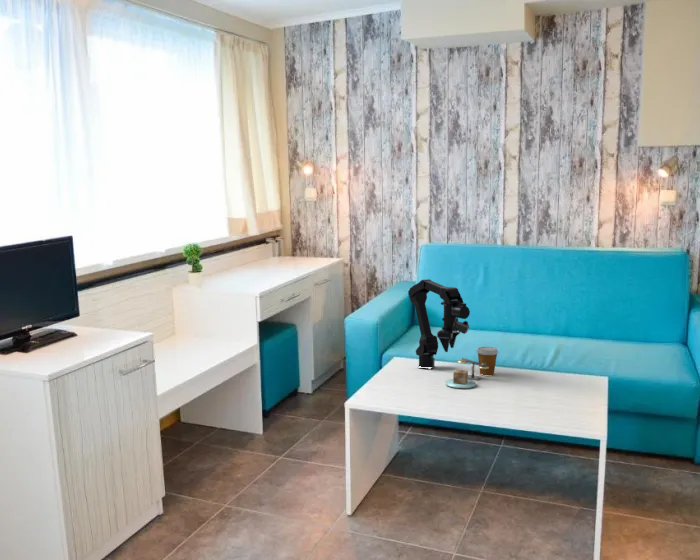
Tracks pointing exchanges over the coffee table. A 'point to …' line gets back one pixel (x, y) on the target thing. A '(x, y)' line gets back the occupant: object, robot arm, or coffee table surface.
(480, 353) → the disposable coffee cup
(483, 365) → the balance
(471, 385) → the teal dish
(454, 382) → the tan block
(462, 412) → the coffee table surface
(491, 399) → the coffee table surface
